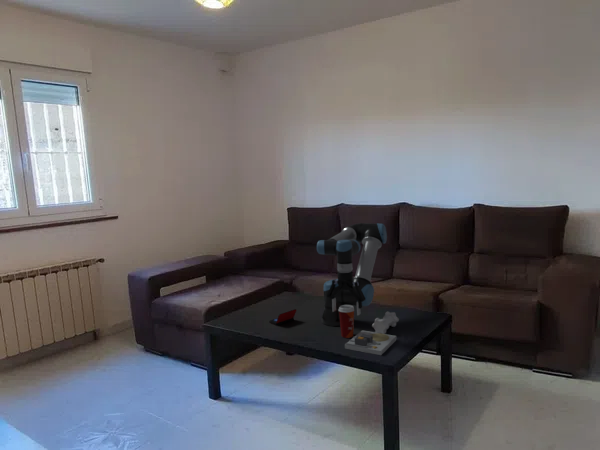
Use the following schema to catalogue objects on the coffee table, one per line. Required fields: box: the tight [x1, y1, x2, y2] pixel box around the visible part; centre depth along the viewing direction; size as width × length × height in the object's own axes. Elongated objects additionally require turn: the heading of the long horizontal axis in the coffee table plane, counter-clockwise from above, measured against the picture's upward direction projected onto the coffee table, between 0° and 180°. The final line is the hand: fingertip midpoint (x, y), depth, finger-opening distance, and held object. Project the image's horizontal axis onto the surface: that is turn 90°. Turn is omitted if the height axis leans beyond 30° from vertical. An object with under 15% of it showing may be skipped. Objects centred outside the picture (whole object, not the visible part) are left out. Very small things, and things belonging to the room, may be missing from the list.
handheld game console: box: [268, 308, 297, 327], centre depth 254 cm, size 12×11×7 cm
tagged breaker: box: [355, 336, 367, 346], centre depth 212 cm, size 5×3×3 cm, turn 58°
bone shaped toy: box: [371, 311, 400, 334], centre depth 235 cm, size 15×9×8 cm, turn 143°
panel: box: [344, 330, 397, 356], centre depth 217 cm, size 18×20×5 cm
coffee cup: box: [338, 305, 356, 339], centre depth 229 cm, size 8×8×15 cm
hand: (346, 312), depth 228 cm, fingers open, 13 cm apart
